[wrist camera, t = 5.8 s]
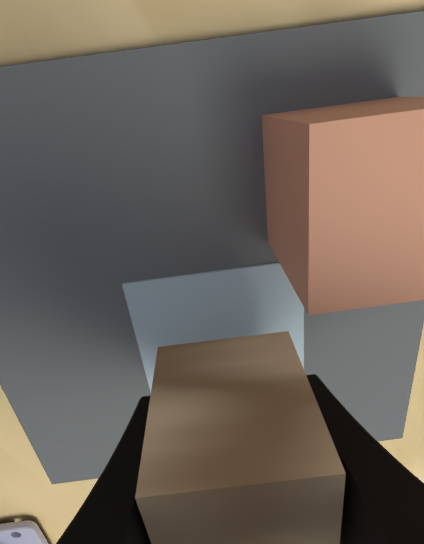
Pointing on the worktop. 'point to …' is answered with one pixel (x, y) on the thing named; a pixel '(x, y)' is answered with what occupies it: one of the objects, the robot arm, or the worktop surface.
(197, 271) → the mat
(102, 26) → the worktop surface
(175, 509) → the maple block
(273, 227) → the terracotta block
